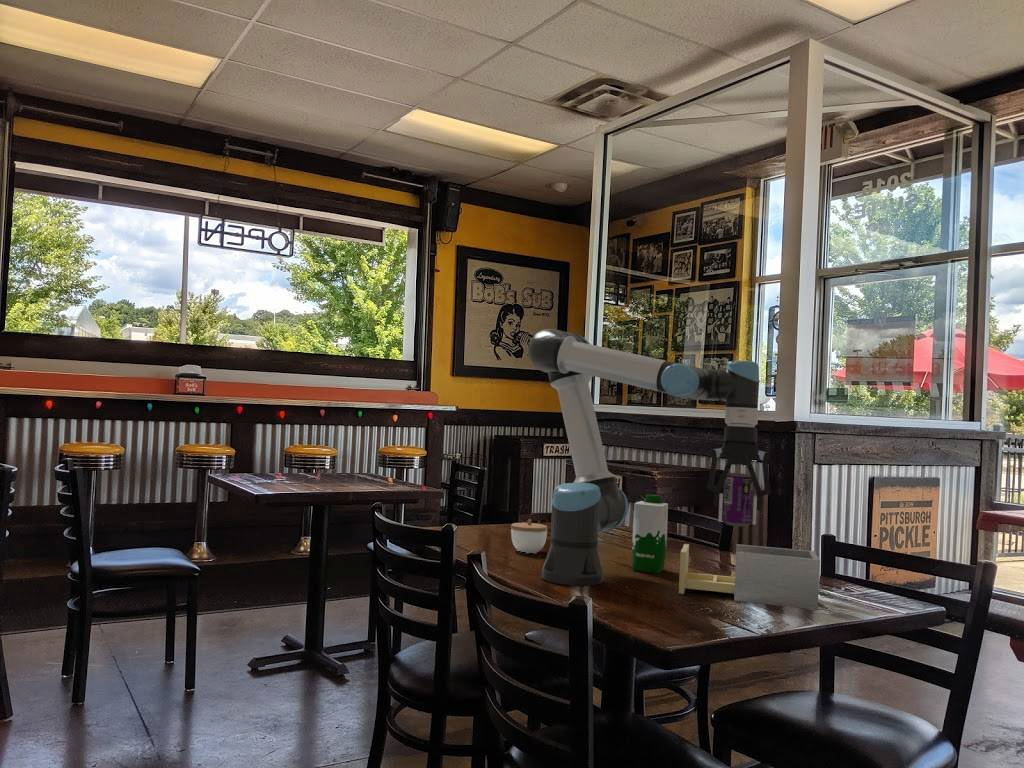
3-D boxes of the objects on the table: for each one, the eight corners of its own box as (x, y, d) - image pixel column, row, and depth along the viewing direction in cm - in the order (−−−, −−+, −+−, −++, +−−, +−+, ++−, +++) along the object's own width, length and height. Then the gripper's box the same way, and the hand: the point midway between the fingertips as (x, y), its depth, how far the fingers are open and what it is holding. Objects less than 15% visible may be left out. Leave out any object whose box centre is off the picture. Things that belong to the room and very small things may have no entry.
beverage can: (753, 527, 188) (755, 476, 188) (722, 525, 189) (724, 474, 190) (751, 524, 195) (753, 474, 195) (720, 522, 196) (722, 472, 197)
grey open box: (734, 600, 185) (736, 552, 186) (734, 589, 198) (736, 544, 199) (817, 609, 180) (819, 560, 181) (812, 597, 194) (814, 551, 194)
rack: (678, 593, 189) (680, 551, 189) (682, 582, 202) (684, 543, 202) (759, 602, 184) (761, 559, 184) (757, 590, 197) (759, 550, 197)
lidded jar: (507, 548, 242) (509, 516, 243) (543, 549, 243) (544, 518, 244) (511, 554, 232) (513, 521, 232) (548, 555, 233) (550, 522, 233)
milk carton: (667, 569, 221) (671, 495, 221) (660, 574, 212) (664, 498, 213) (635, 565, 224) (639, 493, 225) (628, 570, 216) (631, 495, 216)
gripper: (697, 423, 192) (693, 520, 191) (785, 428, 187) (782, 528, 186) (698, 423, 200) (695, 517, 199) (784, 428, 194) (780, 524, 193)
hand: (737, 522), depth 192 cm, fingers closed on beverage can, 7 cm apart
